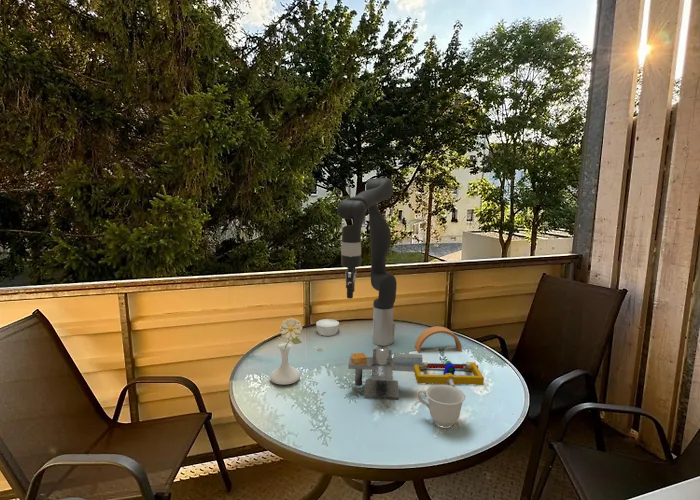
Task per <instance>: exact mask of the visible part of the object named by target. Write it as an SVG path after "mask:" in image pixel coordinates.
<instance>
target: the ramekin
mask: <svg viewBox="0 0 700 500" xmlns="http://www.w3.org/2000/svg"><path fill="white" fill-rule="evenodd" d="M315 323H316V324H315V326H316V331H317V333H318V334H319V335H321V336H322V335H323V336H322V337H324V336H325V337H332V336H335V335H336V334H337V333H338V331H339V326H340V322H339V321H338V320H336V319H332V318H331V319H330V318H325V319H323V318H322V319H319V320H318V321H316V322H315Z"/></svg>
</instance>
